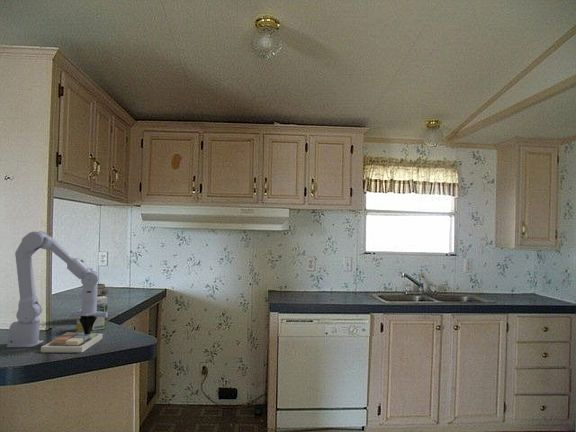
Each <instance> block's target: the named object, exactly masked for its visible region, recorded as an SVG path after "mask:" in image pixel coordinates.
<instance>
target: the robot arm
mask: <svg viewBox="0 0 576 432" xmlns="http://www.w3.org/2000/svg"><path fill="white" fill-rule="evenodd" d="M39 249H42V250H45V251H51V252H52V253H53V254H55V256H57V257H58V258H60V259H61V260H62V261H63V262H64V263H66V269H67V270H68V271H69V272H70V273H71V274H72V275H74V276H75V277H76V278H77V279H78V280H80V282H81V284H82V290H81V300H80V301H81V303H80V304H81V305H80V309H81V311H79V310H75V311H69V312H68V318H77V317H81V318H80V319H79V321H80V323H81V324H82V327H83V330H84V334H92V333H91V332H92V326H93V324H94V322H95V320H96V319H97V317H103V318H106V317H107V318H108V315H109V311H107V312H101V311H97V294H98V290H97V288H98V285H97V284H98V282H99V280H100V276H99V274H98V272H97V271H95V270H94V268H92V267H89V266H88V265H87V264H86V263H85V260H84V259H83V258H79V257H73V256H72V255H71V253H69V252H68V251H67V250H66V248H64V247H63V246H62V245H61V244H60V243H59V242H58V241H57V240H55V238H53V237H52V236H49V234H48V233H47V232H45V231H42V230H41V231H40V230H39V231H31V232H28V233H27V234H26V235H25V236H23V237H22V238H21V242H20V243H19V245H18V247H17V249H16V251H15V253H14V256H15V263H16V265H15V266H16V273H17V281H18V292H19V301H18V305H17V306H18V309H17V311H16V319H17V321H13V322H12V323H11V324H10V326H9V329H8V339H7V345H6V348H33V347H36V346H38V345H40V344H41V343H44V340H43V339H42V340H40V339H39V338H40V325H41V323H40V322H41V319H40V315H41V313H42V311H43V308H42V306H41V304H40V303H39V299H38V296H37V295H36V287H35V285H36V284H35V278H34V268H33V259H32V256H33V255H34V254H35V253H36V252H37V251H38V250H39Z"/></svg>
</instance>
